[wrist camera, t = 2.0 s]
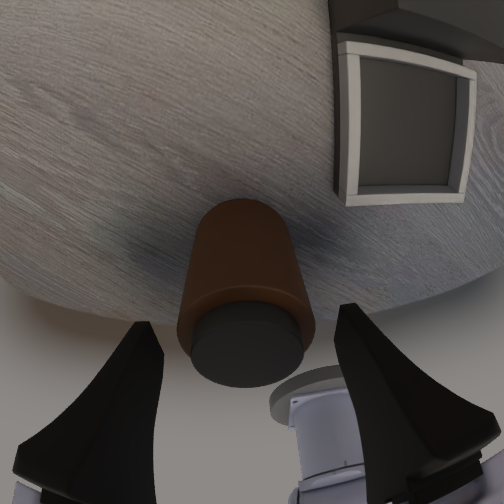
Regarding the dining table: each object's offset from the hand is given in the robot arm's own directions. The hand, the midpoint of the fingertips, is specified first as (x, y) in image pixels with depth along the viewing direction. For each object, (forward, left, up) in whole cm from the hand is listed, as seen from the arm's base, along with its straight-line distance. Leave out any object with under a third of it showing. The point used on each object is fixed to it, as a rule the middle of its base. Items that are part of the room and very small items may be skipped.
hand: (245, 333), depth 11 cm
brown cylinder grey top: (0, 0, -7) cm, 7 cm away
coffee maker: (+8, -9, -7) cm, 14 cm away
